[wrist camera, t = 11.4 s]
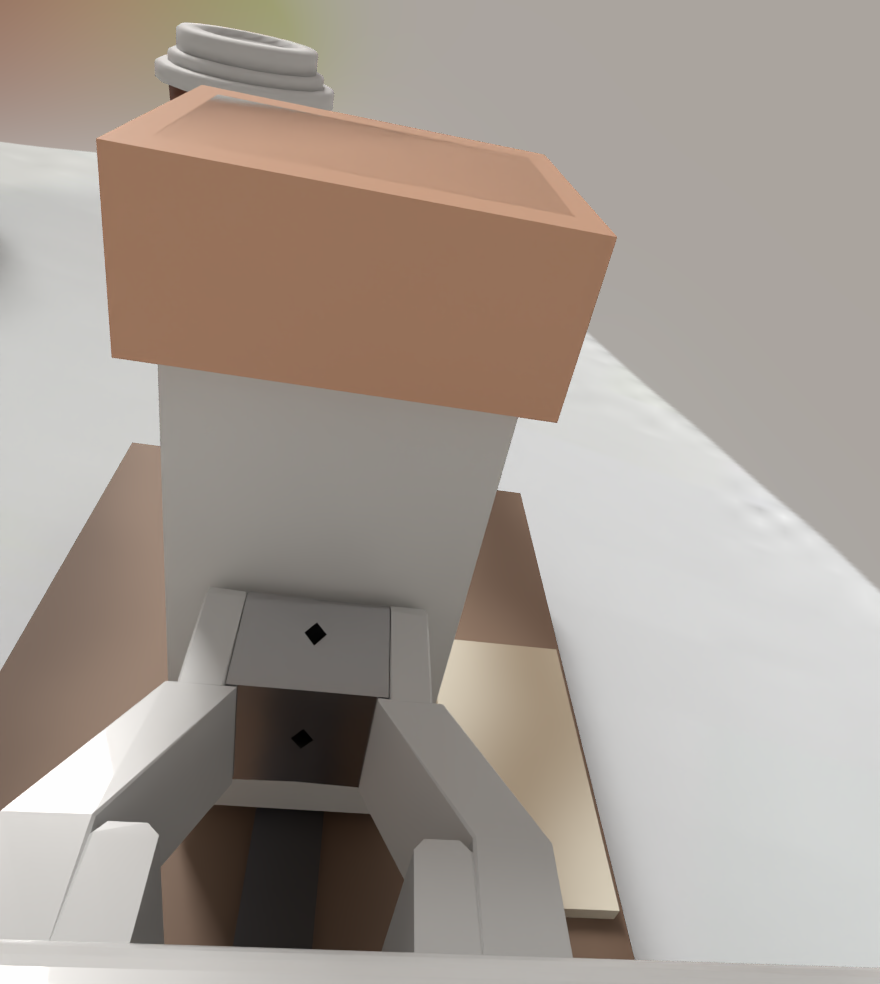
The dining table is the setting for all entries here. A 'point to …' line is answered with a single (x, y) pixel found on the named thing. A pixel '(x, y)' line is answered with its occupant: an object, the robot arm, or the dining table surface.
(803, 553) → the dining table surface
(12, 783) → the fader console
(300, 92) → the coffee cup
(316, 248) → the fader knob
